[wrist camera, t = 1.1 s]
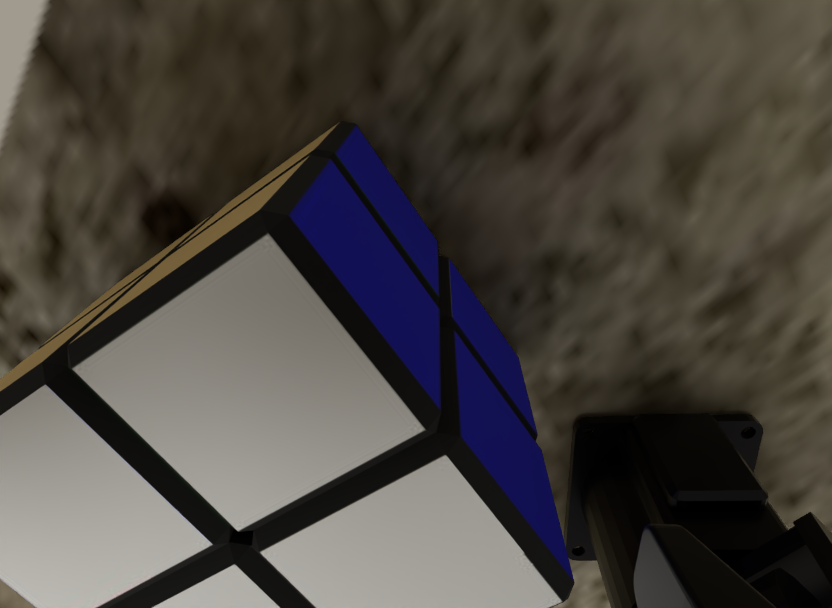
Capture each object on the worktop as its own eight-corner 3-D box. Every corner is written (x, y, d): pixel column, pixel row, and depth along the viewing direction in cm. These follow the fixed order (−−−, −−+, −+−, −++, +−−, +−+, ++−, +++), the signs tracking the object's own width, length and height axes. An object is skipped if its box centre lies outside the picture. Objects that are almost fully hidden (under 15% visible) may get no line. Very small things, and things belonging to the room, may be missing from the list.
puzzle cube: (522, 360, 22) (586, 605, 13) (298, 483, 24) (216, 762, 15) (350, 112, 18) (268, 202, 9) (112, 285, 21) (-136, 489, 12)
